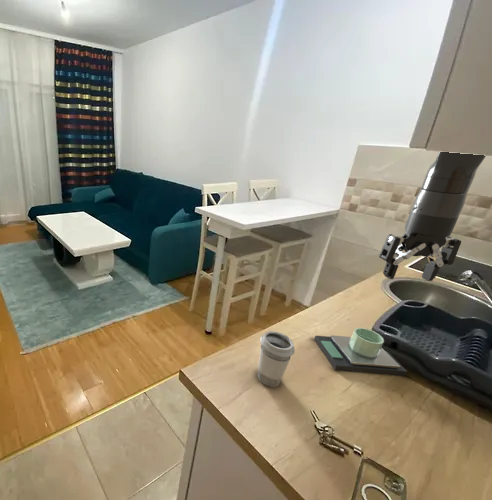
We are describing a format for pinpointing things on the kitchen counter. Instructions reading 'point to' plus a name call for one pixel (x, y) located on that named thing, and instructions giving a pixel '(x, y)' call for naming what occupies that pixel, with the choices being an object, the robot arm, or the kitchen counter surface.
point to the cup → (274, 357)
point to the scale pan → (354, 358)
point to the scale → (343, 364)
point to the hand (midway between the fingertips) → (407, 278)
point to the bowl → (366, 342)
